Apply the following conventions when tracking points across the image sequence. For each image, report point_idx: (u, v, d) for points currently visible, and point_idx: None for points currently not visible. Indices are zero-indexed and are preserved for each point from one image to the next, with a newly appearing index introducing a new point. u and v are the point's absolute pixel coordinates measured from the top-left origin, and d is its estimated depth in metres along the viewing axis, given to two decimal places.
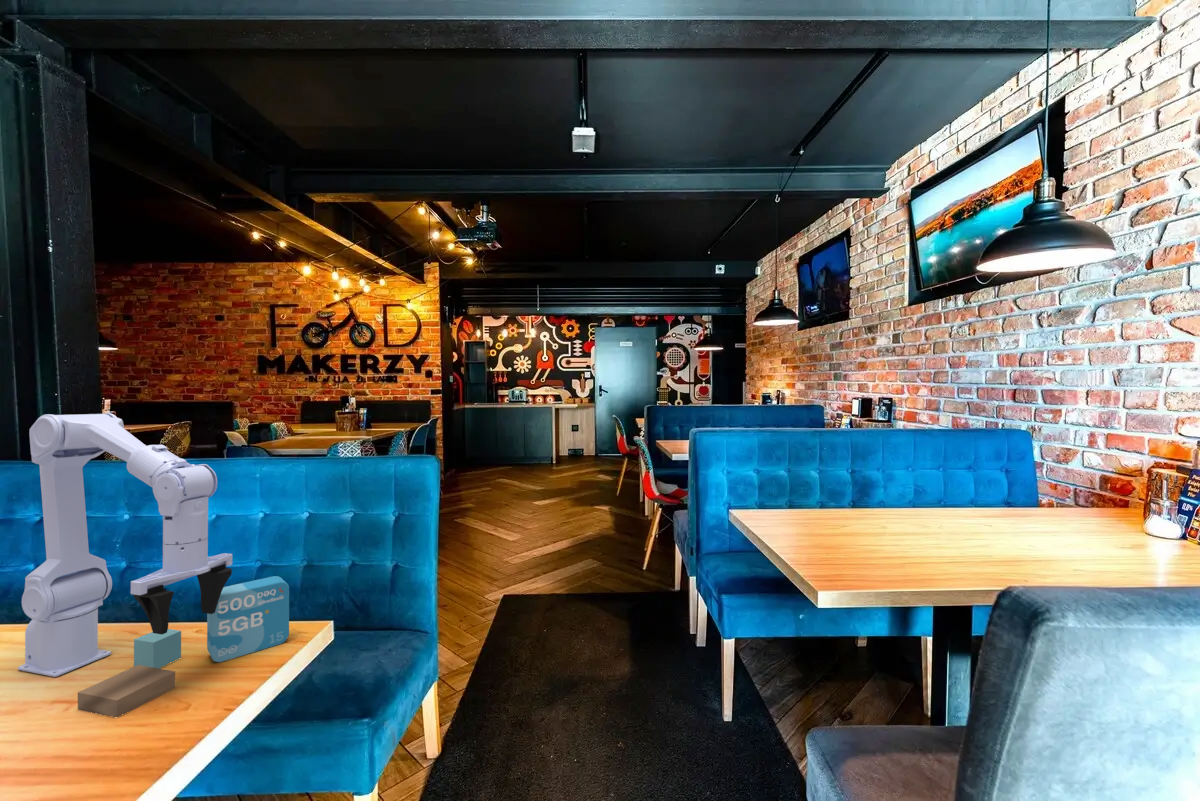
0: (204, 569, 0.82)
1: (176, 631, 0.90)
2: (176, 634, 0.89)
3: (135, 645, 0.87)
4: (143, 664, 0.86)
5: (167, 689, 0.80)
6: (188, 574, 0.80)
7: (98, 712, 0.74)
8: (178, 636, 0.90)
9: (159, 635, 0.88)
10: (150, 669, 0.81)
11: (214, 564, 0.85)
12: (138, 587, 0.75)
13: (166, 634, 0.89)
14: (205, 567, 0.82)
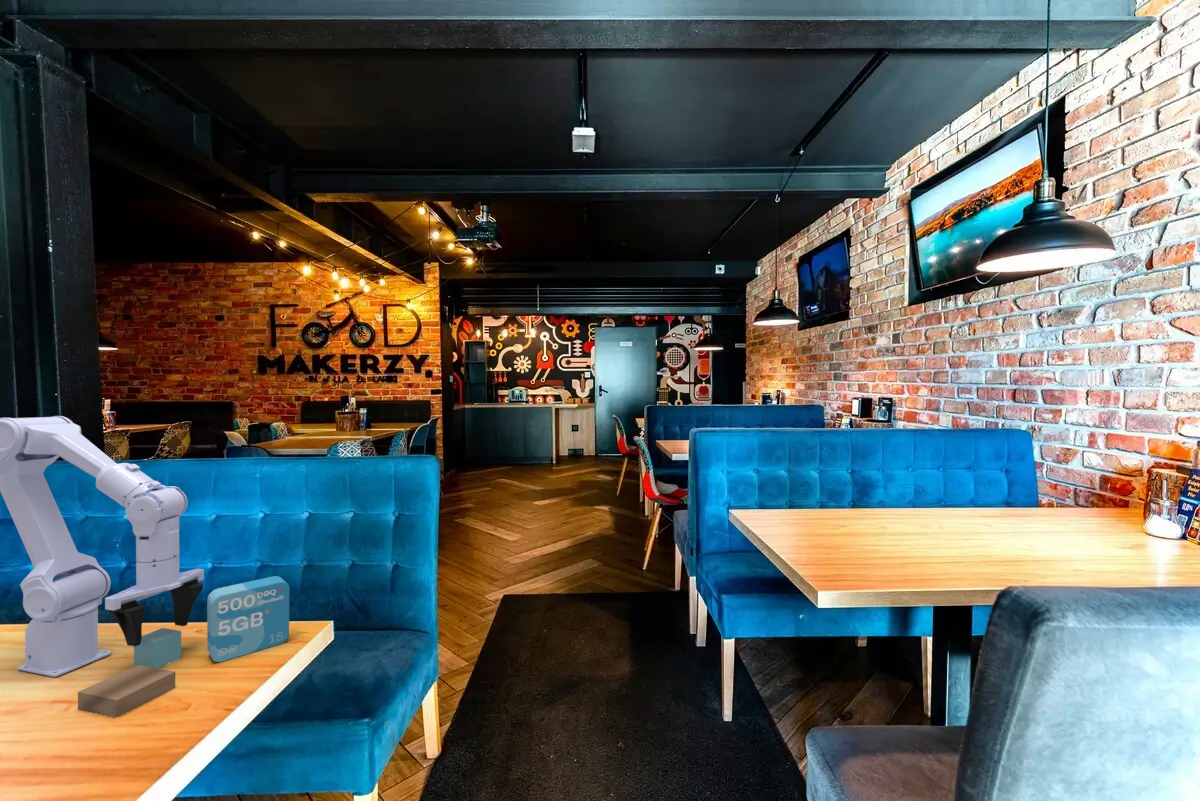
0: (175, 585, 0.88)
1: (176, 631, 0.90)
2: (176, 634, 0.89)
3: None
4: (143, 664, 0.86)
5: (167, 689, 0.80)
6: (160, 590, 0.86)
7: (98, 712, 0.74)
8: (178, 636, 0.90)
9: (159, 635, 0.88)
10: (150, 669, 0.82)
11: (185, 579, 0.91)
12: (112, 603, 0.81)
13: (166, 634, 0.89)
14: (176, 583, 0.88)
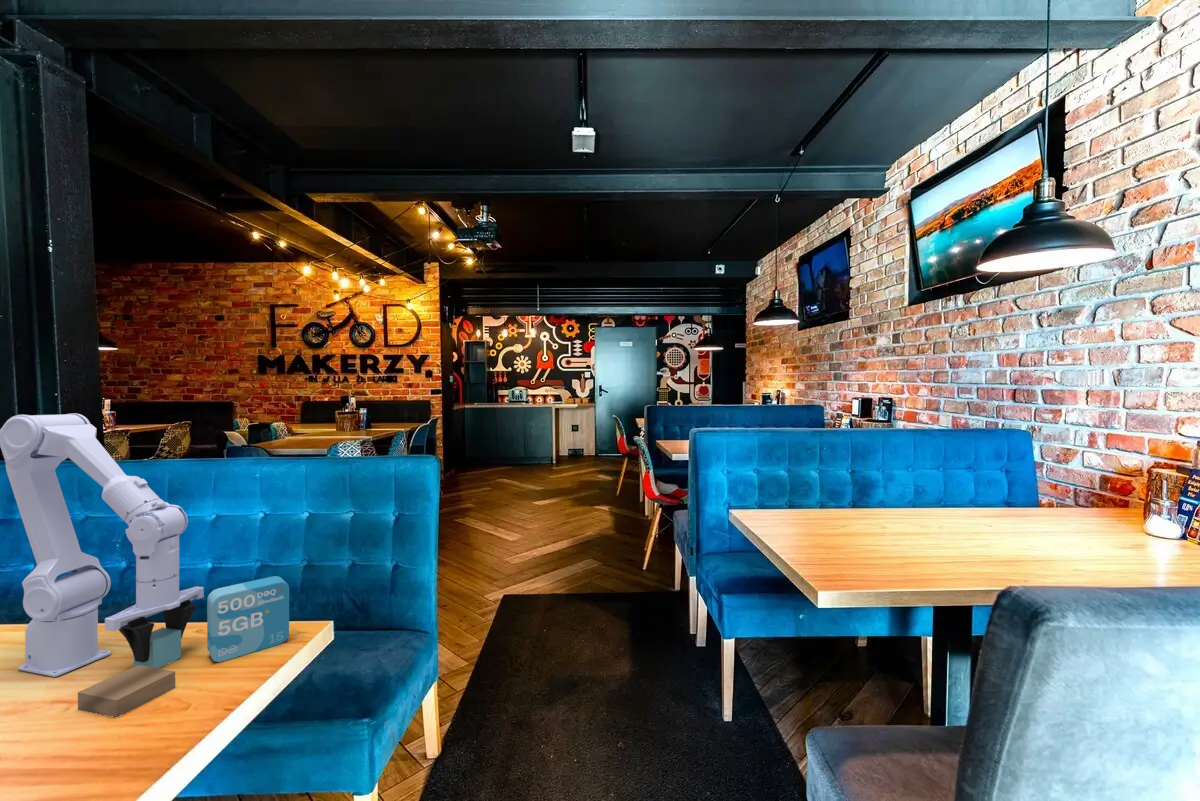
0: (175, 604, 0.88)
1: (176, 630, 0.90)
2: (176, 633, 0.89)
3: None
4: (143, 663, 0.86)
5: (167, 689, 0.80)
6: (160, 609, 0.86)
7: (98, 712, 0.74)
8: (178, 636, 0.90)
9: (159, 634, 0.88)
10: (150, 669, 0.81)
11: (185, 598, 0.91)
12: (112, 623, 0.81)
13: (166, 633, 0.89)
14: (176, 602, 0.88)
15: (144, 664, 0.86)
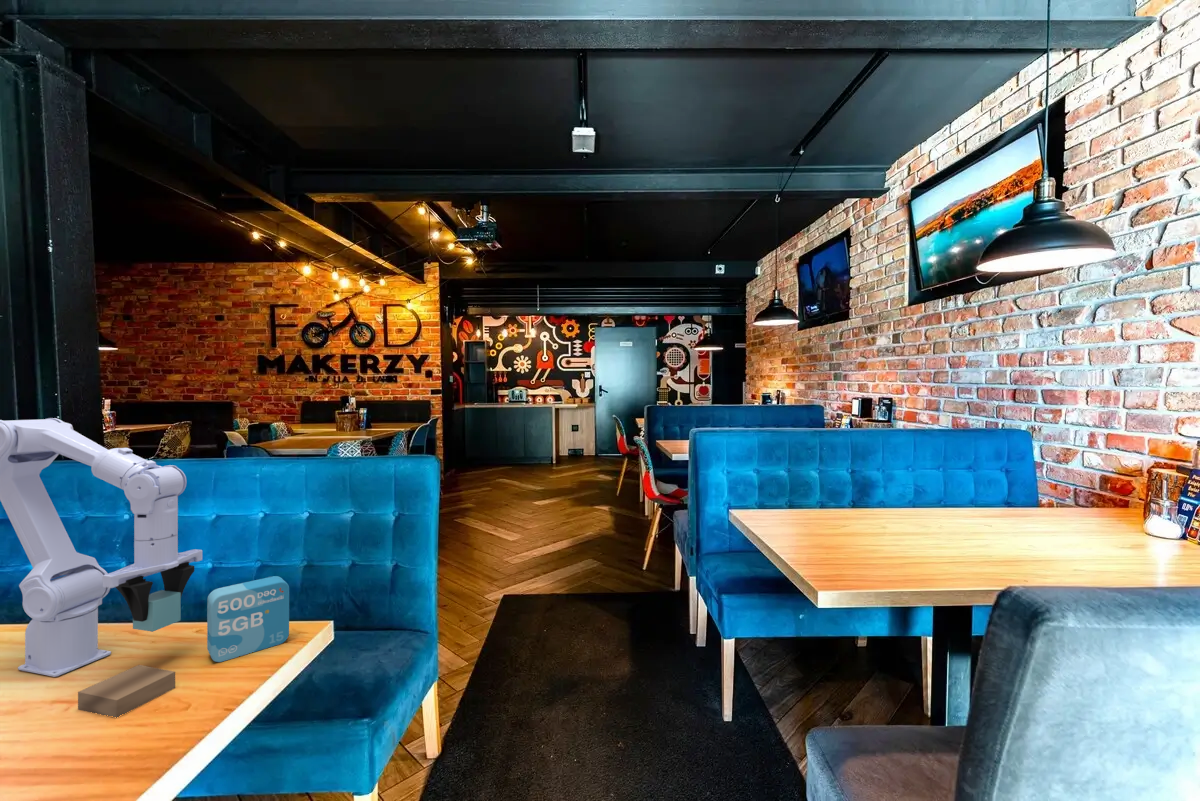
0: (174, 564, 0.87)
1: (175, 593, 0.89)
2: (175, 595, 0.89)
3: None
4: (142, 624, 0.86)
5: (167, 689, 0.80)
6: (158, 568, 0.86)
7: (98, 712, 0.74)
8: (178, 598, 0.89)
9: (158, 596, 0.88)
10: (150, 669, 0.82)
11: (184, 559, 0.90)
12: (110, 580, 0.81)
13: (165, 595, 0.88)
14: (175, 562, 0.88)
15: (143, 625, 0.86)
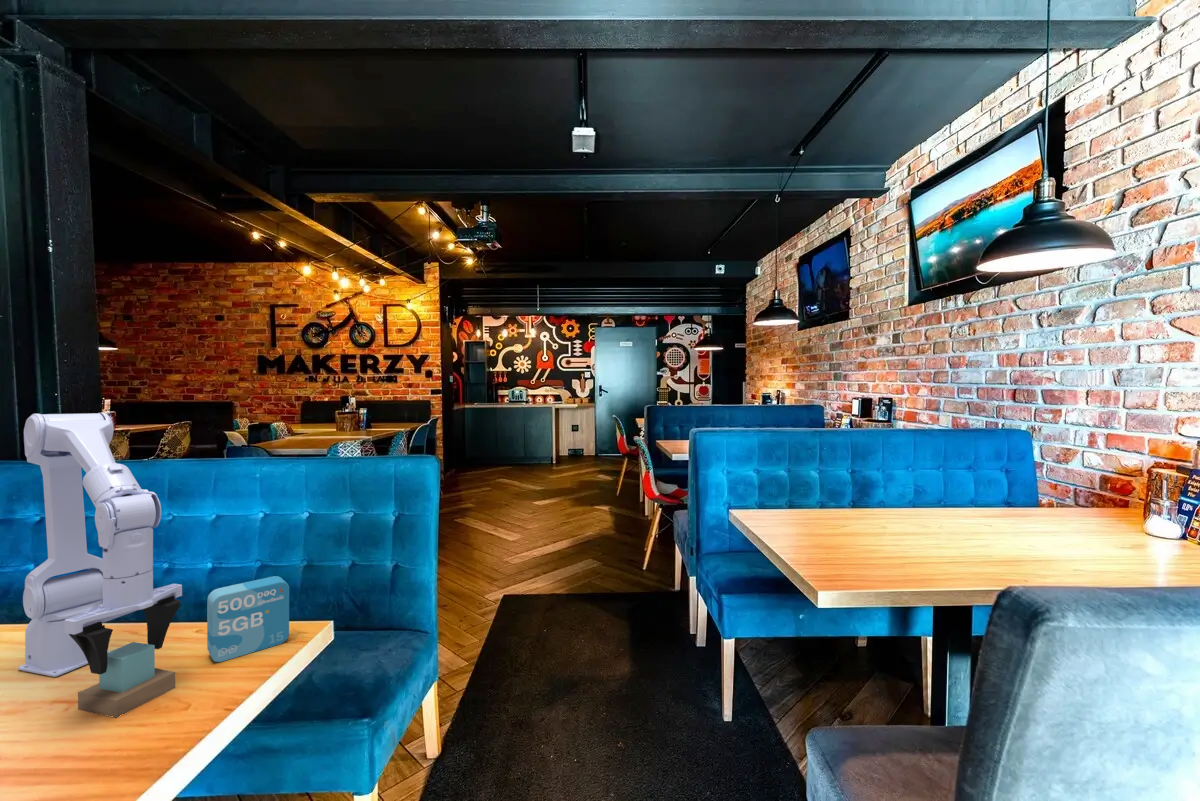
0: (147, 603, 0.77)
1: (149, 645, 0.79)
2: (149, 649, 0.79)
3: None
4: (110, 684, 0.76)
5: (167, 690, 0.80)
6: (129, 609, 0.76)
7: (98, 712, 0.74)
8: (151, 652, 0.79)
9: (129, 650, 0.78)
10: None
11: (160, 597, 0.81)
12: (72, 625, 0.71)
13: (137, 649, 0.78)
14: (149, 601, 0.78)
15: (111, 685, 0.76)
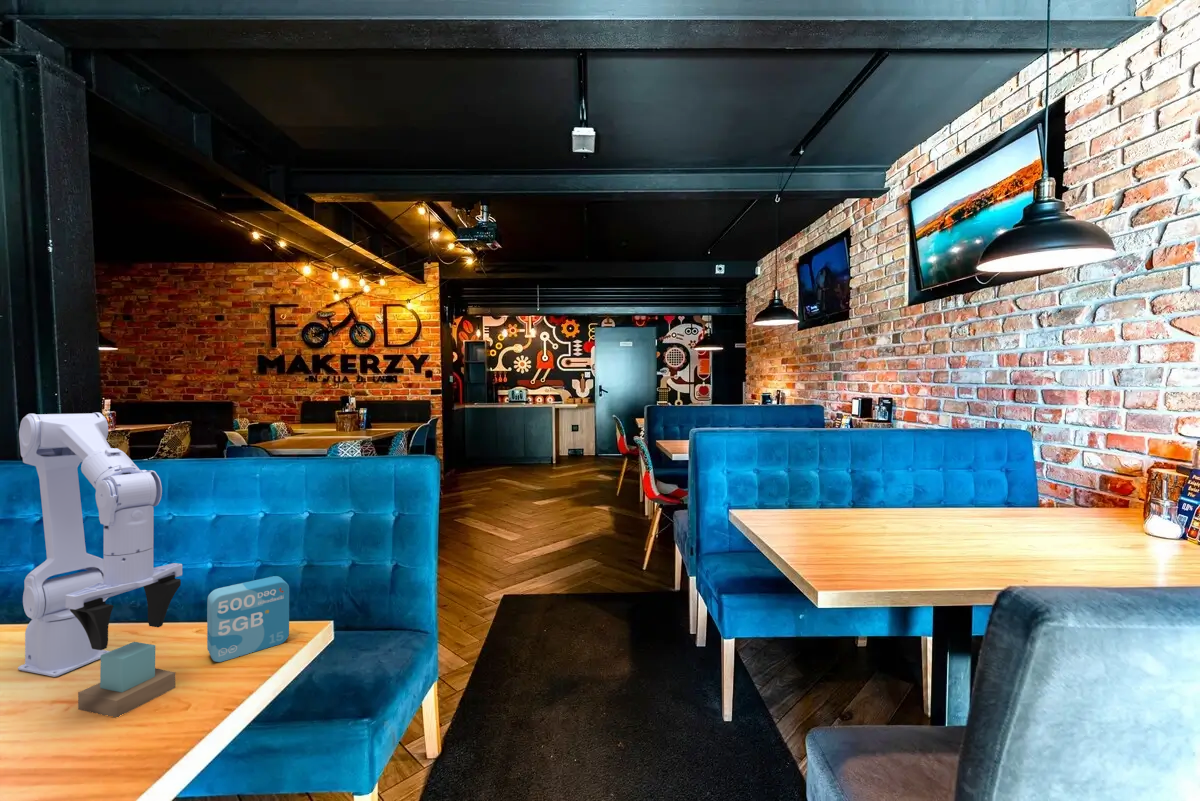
0: (148, 581, 0.78)
1: (150, 645, 0.79)
2: (149, 649, 0.79)
3: (102, 662, 0.76)
4: (110, 684, 0.76)
5: (167, 690, 0.80)
6: (130, 586, 0.76)
7: (98, 712, 0.74)
8: (152, 652, 0.79)
9: (130, 650, 0.78)
10: None
11: (161, 575, 0.81)
12: (73, 601, 0.71)
13: (138, 649, 0.78)
14: (149, 579, 0.78)
15: (111, 684, 0.76)
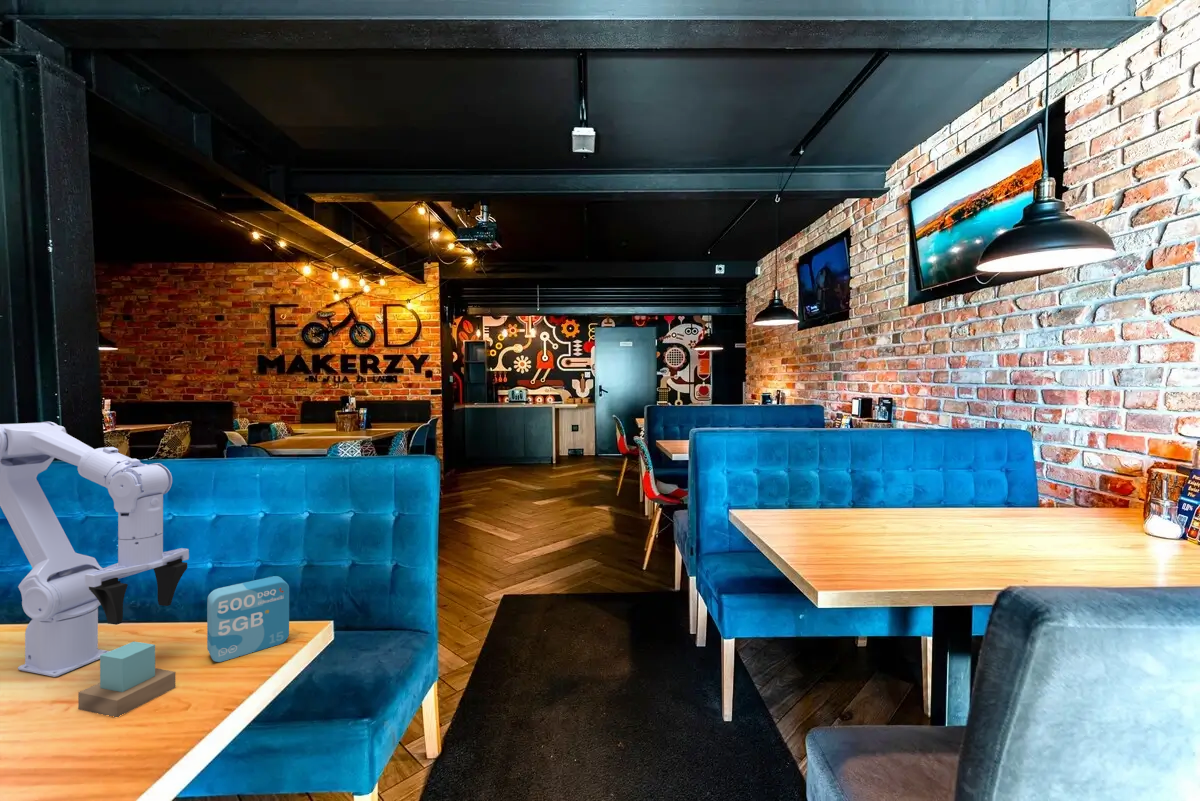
0: (158, 563, 0.86)
1: (149, 645, 0.79)
2: (149, 649, 0.79)
3: (101, 662, 0.76)
4: (110, 683, 0.76)
5: (167, 690, 0.80)
6: (142, 567, 0.85)
7: (98, 712, 0.74)
8: (152, 651, 0.79)
9: (129, 650, 0.78)
10: None
11: (169, 558, 0.89)
12: (92, 579, 0.80)
13: (138, 649, 0.78)
14: (159, 561, 0.86)
15: (112, 684, 0.76)
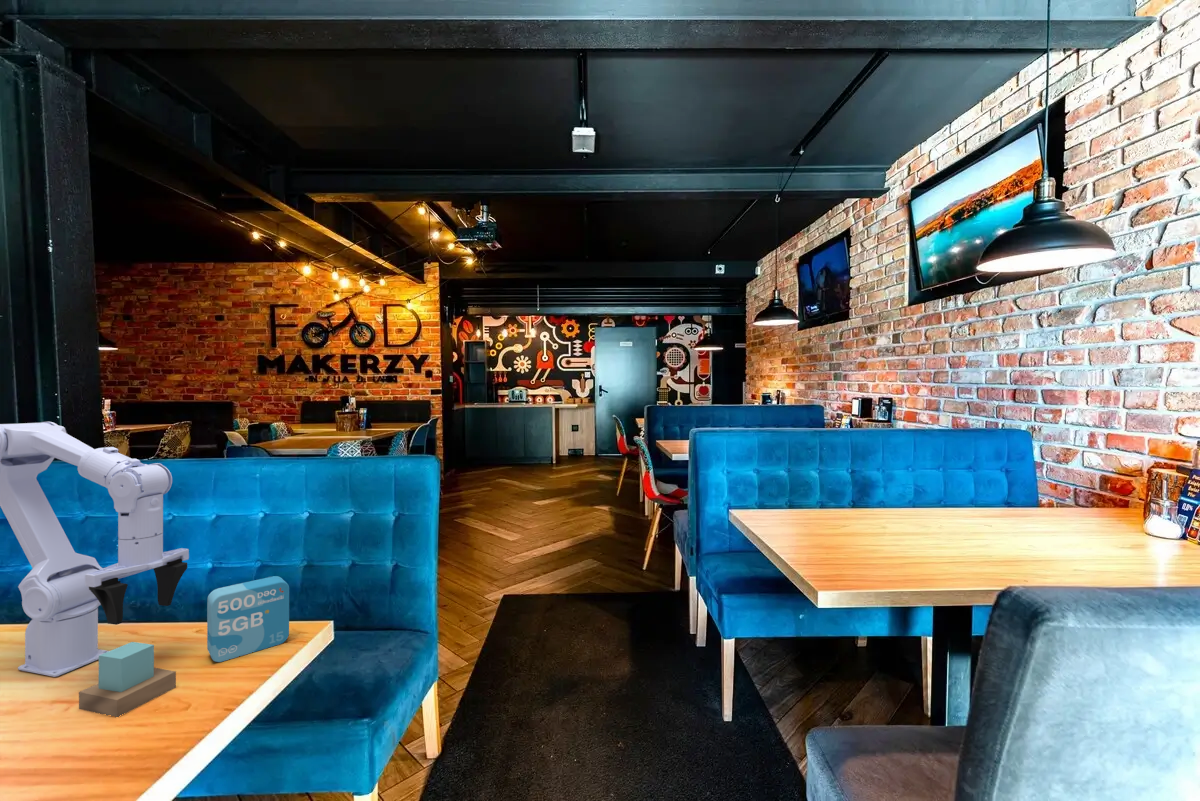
0: (158, 563, 0.86)
1: (148, 645, 0.79)
2: (148, 649, 0.79)
3: (100, 662, 0.76)
4: (109, 684, 0.76)
5: (168, 689, 0.80)
6: (142, 567, 0.85)
7: (99, 712, 0.74)
8: (150, 651, 0.79)
9: (128, 650, 0.78)
10: None
11: (169, 558, 0.89)
12: (92, 579, 0.80)
13: (136, 649, 0.78)
14: (159, 561, 0.86)
15: (110, 684, 0.76)
